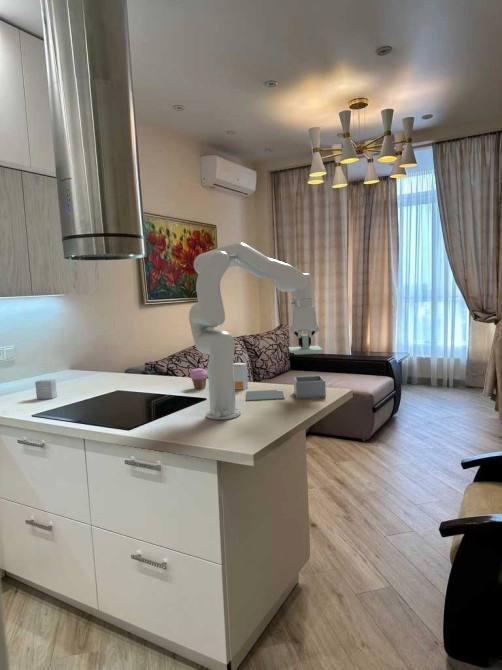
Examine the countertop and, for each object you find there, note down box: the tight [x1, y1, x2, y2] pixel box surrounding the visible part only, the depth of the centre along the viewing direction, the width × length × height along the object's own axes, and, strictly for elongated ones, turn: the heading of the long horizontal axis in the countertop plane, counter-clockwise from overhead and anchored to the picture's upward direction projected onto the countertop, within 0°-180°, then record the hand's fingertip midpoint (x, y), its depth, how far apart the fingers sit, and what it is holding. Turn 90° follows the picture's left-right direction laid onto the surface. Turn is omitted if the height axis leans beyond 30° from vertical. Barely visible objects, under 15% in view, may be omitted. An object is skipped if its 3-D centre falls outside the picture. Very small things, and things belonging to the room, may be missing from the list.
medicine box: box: [34, 378, 58, 400], centre depth 209 cm, size 8×4×9 cm, turn 84°
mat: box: [245, 389, 285, 402], centre depth 191 cm, size 16×16×1 cm
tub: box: [293, 375, 327, 400], centre depth 187 cm, size 12×12×7 cm
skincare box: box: [233, 362, 249, 390], centre depth 207 cm, size 6×4×12 cm
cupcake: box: [189, 367, 208, 390], centre depth 213 cm, size 9×9×10 cm
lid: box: [288, 334, 324, 355], centre depth 186 cm, size 13×13×7 cm
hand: (304, 346), depth 186 cm, fingers closed on lid
